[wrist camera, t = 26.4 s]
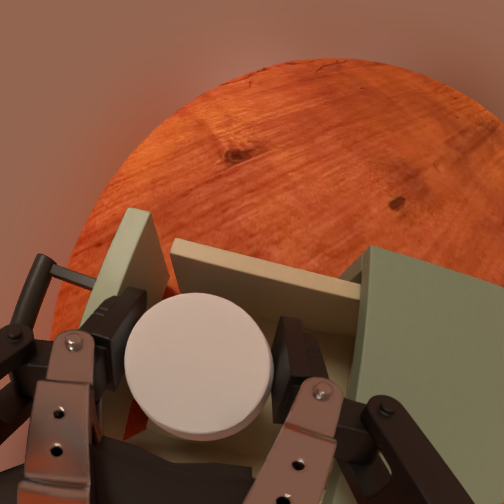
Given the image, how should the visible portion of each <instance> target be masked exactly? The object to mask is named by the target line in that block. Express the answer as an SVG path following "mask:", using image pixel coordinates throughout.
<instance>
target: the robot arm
mask: <svg viewBox="0 0 504 504" xmlns="http://www.w3.org/2000/svg"><path fill="white" fill-rule="evenodd" d="M146 311H147V291H146V290H143V289H139V288H134V287H130V286H128V287H127V288H126V289H125V291H124V292H123V293H122V294H121V295H120V296H115V295H114V296H111V297H109V298H107V299H105V300H104V301H103V302H102V303H101V304H100V305H99V306H98V308H97V309H96V310H95V311H94V312H93V313H92V314H91V315H90V317H89V318H88V319H87V320H86V321H85V322H84V323H83V325H82V326H81V327H80V328H79V329H78V330H67V331H64V332H62V333H60V334H58V335H57V336H56V338H55V340H54V341H46V340H36V339H34V334H33V331H32V329H31V328H30V327H29V326H27V325H24V324H19V323H15V324H10V325H7V326H5V327H3V328H1V329H0V380H1V379H2V378H3V377H4V376H6V375H7V374H9V377H10V380H11V382H10V383H9V384H7V385H6V386H5V387H4V388H3V389H1V390H0V445H1V444H2V443H3V442H4V441H5V440H6V439H7V438H8V437H9V436H10V435H11V434H12V433H13V432H14V431H16V430H17V429H18V427H20V426H21V425H22V424H23V423H24V422H25V421H26V420H27V419H28V418H29V417H30V423H29V430H28V437H27V446H26V455H25V463H24V464H21V465H18V466H15V467H13V468H10V469H7V470H5V471H2V472H0V504H320V501H321V498H322V495H323V491H324V488H325V485H326V482H327V478H328V475H329V472H330V468H331V465H332V461H333V458H335V459H336V461H337V463H338V465H339V467H340V469H341V471H342V473H343V475H344V477H345V479H346V481H347V483H348V485H349V487H350V489H351V491H352V493H353V495H354V497H355V500H356V502H357V504H475V503H474V502H473V500H472V499H471V497H470V496H469V494H468V493H467V492H466V490H465V489H464V487H463V486H462V485H461V483H460V482H459V481H458V479H457V478H456V476H455V475H454V474H453V472H452V471H451V469H450V468H449V467H448V465H447V464H446V463H445V461H444V460H443V458H442V457H441V456H440V454H439V453H438V452H437V450H436V449H435V448H434V446H433V445H432V444H431V442H430V441H429V440H428V438H427V437H426V435H425V434H424V433H423V431H422V430H421V429H420V427H419V426H418V425H417V423H416V422H415V421H414V419H413V418H412V417H411V415H410V414H409V413H408V412H407V410H406V409H405V408H404V406H403V405H402V404H401V403H400V402H399V401H398V400H396V399H394V398H393V397H390V396H387V395H375V396H373V397H371V398H370V399H369V401H368V402H367V404H364V403H360V402H357V401H353V400H350V399H347V398H345V397H344V394H343V391H342V389H341V388H340V387H339V385H337V384H336V383H335V382H333V381H331V380H330V379H329V376H328V372H327V369H326V366H325V362H324V359H323V358H322V357H323V356H322V352H321V351H320V350H321V349H320V346H319V342H318V340H317V339H316V338H315V337H314V336H313V335H312V334H311V333H309V332H303V329H302V325H301V321H300V319H298V318H291V317H285V316H281V317H280V319H279V322H278V326H277V329H276V333H275V337H274V340H273V344H272V347H271V353H272V357H273V363H274V380H273V386H272V390H271V400H272V417H273V424H282V428H281V430H280V432H279V434H278V436H277V438H276V440H275V442H274V444H273V446H272V448H271V450H270V452H269V454H268V456H267V458H266V460H265V462H264V464H263V466H262V468H261V470H260V472H259V474H258V476H257V477H256V478H254V477H252V467H247V466H238V465H230V464H222V463H216V462H209V463H173V462H170V461H167V460H165V459H163V458H161V457H159V456H157V455H154V454H152V453H150V452H148V451H146V450H144V449H142V448H140V447H138V446H136V445H133V444H129V443H126V442H122V441H119V440H116V439H113V438H110V437H107V436H104V431H103V405H102V394H103V392H104V390H105V389H107V390H110V391H113V392H115V391H116V389H117V387H118V385H119V383H120V381H121V379H122V377H123V375H124V373H125V366H124V357H125V350H126V345H127V341H128V338H129V336H130V334H131V332H132V330H133V328H134V326H135V325H136V323H137V322H138V320H139V319H140V318H141V317H142V316H143V314H144V313H145V312H146ZM380 452H381V453H382V455H383V457H384V458H385V460H386V462H387V463H388V465H389V467H390V469H391V474H390V472H389V470H388V469H387V467H386V465H385V464H384V462H383V460H382V459H381V457H380V455H379V454H380Z"/></svg>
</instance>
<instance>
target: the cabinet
mask: <svg viewBox="0 0 504 504" xmlns="http://www.w3.org/2000/svg"><path fill="white" fill-rule="evenodd" d="M338 279H341V280H345V281H349V282H353V283H357V284H361V293H360V305H359V315H358V325H357V334H356V342H355V350H354V358H353V365H352V372H351V378H350V385H349V391H348V396H347V399H350V400H353V401H357V402H360V403H364V404H367V402H368V401H369V399H370V398H371V397H373V396H375V395H387V396H390V397H393V398H394V399H396V400H398V401H399V402H400V403H401V404H402V405H403V406H404V408H405V409H406V410H407V412H408V413H409V414H410V415H411V417H412V418H413V419H414V421H415V422H416V423H417V425H418V426H419V427H420V429H421V430H422V431H423V433H424V434H425V435H426V437H427V438H428V440H429V441H430V442H431V444H432V445H433V446H434V448H435V449H436V450H437V452H438V453H439V454H440V456H441V457H442V458H443V460H444V461H445V463H446V464H447V465H448V467H449V468H450V469H451V471H452V472H453V474H454V475H455V476H456V478H457V479H458V481H459V482H460V483H461V485H462V486H463V487H464V489H465V490H466V492H467V493H468V494H469V496H470V497H471V499H472V500H473V502H474V503H475V504H501V503H504V287H501V286H498V285H495V284H492V283H490V282H487V281H484V280H481V279H478V278H475V277H472V276H469V275H466V274H463V273H460V272H457V271H453V270H450V269H447V268H444V267H441V266H438V265H435V264H432V263H428V262H425V261H422V260H419V259H415V258H412V257H409V256H406V255H402V254H399V253H396V252H392V251H389V250H386V249H382V248H379V247H376V246H370V247H369V248H368V249H367V250H366V251H365V252H364V253H363V254H362V255H361V256H360V257H359V258H358V259H357V260H356V261H355V262H354V263H353V264H352V265H351V266H350V267H349V268H348V269H347V270H346V271H345V272H344V273H343V274H342V275H341V276H340V277H339V278H338ZM379 455H380V457H381V459H382V460H383V462H384V464H385V465H386V467H387V469H388V470H389V472H390V474H391V469H390V467H389V465H388V463H387V462H386V460H385V458H384V457H383V455H382V453H381V452H380V454H379ZM323 504H357V502H356V500H355V497H354V495H353V493H352V491H351V489H350V487H349V485H348V483H347V481H346V479H345V477H344V475H343V473H342V471H341V469H340V467H339V465H338V463H337V461H336V459H335V460H334V464H333V468H332V472H331V476H330V480H329V484H328V487H327V491H326V495H325V498H324V502H323Z"/></svg>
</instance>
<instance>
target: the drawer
mask: <svg viewBox="0 0 504 504" xmlns="http://www.w3.org/2000/svg"><path fill="white" fill-rule="evenodd" d="M170 256H171V260H172V264H173V268H174V272H175V275H176V279H177V283H178V286H179V290H180V293H181V294H186V293H205V294H211V295H215V296H218V297H221V298H224V299H226V300H229V301H231V302H233V303H234V304H236V305H237V306H239V307H240V308H242V309H243V310H244V311H245V312H246V313H247V314H248V315H250V316H251V318H252V319H253V320H254V321H255V322H256V324H257V325H258V327H259V328H260V330H261V331H262V333H263V335H264V336H265V338H266V340H267V342H268V344H269V347H270V350H271V347H272V344H273V340H274V337H275V333H276V329H277V326H278V322H279V319H280V317H281V316H285V317H291V318H298V319H300V321H301V325H302V329H303V332H309V333H311V334H312V335H313V336H314V337H315V338H316V339H317V340H318V342H319V346H320V349H321V350H320V351H321V352H322V356H323V357H322V358H323V359H324V362H325V366H326V369H327V372H328V376H329V379H330V380H331V381H333V382H335V383H336V384H337V385H339V387H340V388H341V389H342V391H343V394H344V397H345V398H347V396H348V391H349V385H350V378H351V372H352V365H353V358H354V350H355V342H356V334H357V325H358V315H359V305H360V293H361V284H357V283H353V282H349V281H345V280H341V279H337V278H333V277H329V276H325V275H321V274H317V273H313V272H309V271H305V270H301V269H297V268H293V267H289V266H285V265H281V264H277V263H273V262H269V261H265V260H261V259H257V258H253V257H249V256H245V255H241V254H237V253H234V252H230V251H226V250H222V249H218V248H214V247H210V246H206V245H202V244H198V243H194V242H190V241H186V240H183V239H179V238H175V239H174V242H173V244H172V247H171V250H170ZM52 276H53V277H55V278H58V279H60V280H63V281H65V282H68V283H71V284H74V285H76V286H79V287H82V288H84V289H87V290H90V291H92V292H91V295H90V298H89V300H88V303H87V306H86V309H85V312H84V314H83V317H82V320H81V323H80V326H79V328H80V327H81V326H82V325H83V323H84V322H85V321H86V320H87V319H88V318H89V317H90V315H91V314H92V313H93V312H94V311H95V310H96V309H97V308H98V306H99V305H100V304H101V303H102V302H103V301H104V300H105V299H107V298H109V297H111V296H114V295H115V296H120V295H121V294H122V293H123V292H124V291H125V289H126V288H127V287H128V286H130V287H134V288H139V289H143V290H146V291H147V311H148V310H149V309H150V308H152V307H153V306H154V305H156V304H157V303H159V302H161V301H162V298H163V295H164V292H165V289H166V286H167V283H168V280H169V277H170V276H169V273H168V270H167V266H166V263H165V260H164V257H163V253H162V250H161V247H160V243H159V240H158V236H157V233H156V229H155V226H154V222H153V219H152V215H151V212H148V211H144V210H140V209H135V208H131V207H128V209H127V211H126V213H125V215H124V217H123V219H122V221H121V223H120V226H119V228H118V230H117V232H116V234H115V237H114V239H113V241H112V243H111V246H110V248H109V250H108V253H107V255H106V257H105V260H104V262H103V265H102V267H101V269H100V272H99V274H98V277H97V279H95V278H92V277H89V276H87V275H84V274H81V273H78V272H75V271H72V270H69V269H67V268H64V267H61V266H58V265H57V263H56V262H55V261H54V260H52V259H51V258H49V257H48V256H46V255H43V254H37V256H36V258H35V260H34V262H33V265H32V267H31V269H30V272H29V274H28V276H27V279H26V281H25V284H24V286H23V289H22V291H21V294H20V296H19V299H18V302H17V305H16V307H15V310H14V313H13V316H12V319H11V322H10V324H15V323H19V324H24V325H27V326H29V327H30V328H31V329H32V331H33V328H34V324H35V322H36V319H37V316H38V313H39V310H40V307H41V304H42V302H43V299H44V297H45V294H46V291H47V289H48V286H49V284H50V281H51V279H52ZM132 401H133V395H132V393H131V391H130V388H129V386H128V383H127V379H126V374H125V373H124V375H123V377H122V379H121V381H120V383H119V385H118V387H117V389H116V391H115V392H113V391H110V390H107V389H105V390H104V392H103V394H102V405H103V431H104V436H107V437H110V438H113V439H116V440H119V441H122V442H126V443H129V444H133V445H136V446H138V447H140V448H142V449H144V450H146V451H148V452H150V453H152V454H154V455H157V456H159V457H161V458H163V459H165V460H167V461H170V462H173V463H209V462H216V463H222V464H230V465H238V466H247V467H252V477H254V478H256V477H257V476H258V474H259V472H260V470H261V468H262V466H263V464H264V462H265V460H266V458H267V456H268V454H269V452H270V450H271V448H272V446H273V444H274V442H275V440H276V438H277V436H278V434H279V432H280V430H281V428H282V424H273V417H272V400H271V393H270V396H269V398H268V400H267V402H266V404H265V406H264V407H263V409H262V410H261V412H260V413H259V414H258V416H257V417H256V418H255V419H254V420H253V421H252V422H251V423H250V424H249V425H248V426H246V427H245V428H243V429H242V430H240V431H239V432H237V433H235V434H233V435H231V436H228V437H225V438H222V439H218V440H211V441H196V440H189V439H184V438H181V437H178V436H175V435H173V434H171V433H169V432H167V431H165V430H164V429H162V428H161V427H159V426H158V425H156V424H155V423H154V422H153V421H152V420H151V419H150V418H149V417H148V421H147V425H146V430H144V431H142V432H140V433H138V434H136V435H134V436H132V437H130V438H128V439H126V440H124V441H123V438H124V434H125V429H126V425H127V421H128V417H129V413H130V409H131V405H132ZM334 460H335V458H333V461H332V465H331V468H330V472H329V475H328V478H327V482H326V485H325V488H324V491H323V495H322V498H321V501H320V504H323V502H324V498H325V495H326V491H327V487H328V484H329V480H330V476H331V472H332V468H333V464H334Z"/></svg>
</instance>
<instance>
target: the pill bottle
mask: <svg viewBox="0 0 504 504" xmlns="http://www.w3.org/2000/svg"><path fill="white" fill-rule="evenodd" d="M124 366H125V374H126V379H127V383H128V386H129V388H130V391H131V393H132V395H133V397H134V398H135V400H136V401H137V403H138V404H139V406H140V408H141V409H142V410H143V412H144V413H145V414H146V415H147V416H148V417H149V418H150V419H151V420H152V421H153V422H154V423H155V424H156V425H158V426H159V427H161V428H162V429H164V430H165V431H167V432H169V433H171V434H173V435H175V436H178V437H181V438H184V439H189V440H196V441H211V440H218V439H222V438H225V437H228V436H231V435H233V434H235V433H237V432H239V431H240V430H242V429H243V428H245V427H246V426H248V425H249V424H250V423H251V422H252V421H253V420H254V419H255V418H256V417H257V416H258V414H259V413H260V412H261V410H262V409H263V407H264V406H265V404H266V402H267V400H268V398H269V396H270V393H271V390H272V386H273V380H274V363H273V357H272V353H271V350H270V347H269V344H268V342H267V340H266V338H265V336H264V335H263V333H262V331H261V330H260V328H259V327H258V325H257V324H256V322H255V321H254V320H253V319H252V318H251V316H250V315H248V314H247V313H246V312H245V311H244V310H243V309H242V308H240V307H239V306H237V305H236V304H234V303H233V302H231V301H229V300H226V299H224V298H221V297H218V296H215V295H211V294H205V293H186V294H180V295H176V296H173V297H170V298H167V299H165V300H163V301H161V302H159V303H157V304H156V305H154V306H153V307H152V308H150V309H149V310H148V311H146V312H145V313H144V314H143V316H142V317H141V318H140V319H139V320H138V322H137V323H136V325H135V326H134V328H133V330H132V332H131V334H130V336H129V338H128V341H127V345H126V350H125V357H124Z"/></svg>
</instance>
